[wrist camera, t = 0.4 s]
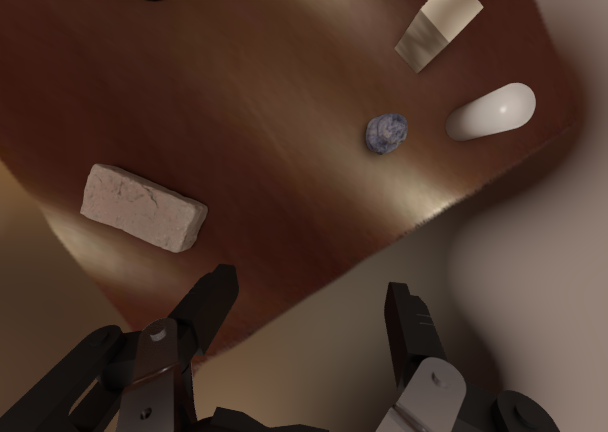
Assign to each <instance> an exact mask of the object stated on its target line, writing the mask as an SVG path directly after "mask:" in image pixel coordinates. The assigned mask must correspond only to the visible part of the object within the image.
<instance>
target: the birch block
mask: <svg viewBox="0 0 608 432" xmlns="http://www.w3.org/2000/svg"><path fill="white" fill-rule="evenodd" d="M482 8H483V6H482V5H481V4H480V2H479V1H478V0H429V1H428V2H427V3H426V4H425V5H424V6H423V7H422V8H421V9H420V11H419V12H418V14H417V15H416V17H415V18H414V20H413V21H412V23H411V24H410V26H409V27H408V29H407V30H406V32H405V33H404V35H403V36H402V38H401V39H400V41H399V42H398V44H397V46H396V47H395V50H396V51H397V52H398V53H399V55H400V56H401V57H402V58H403V59H404V60H405V61H406V62H407V63H408V65H409V66H410V67H411V68H412V69H413V70H414V71H415V72H416V73H417V74H418V73H419V72H420V71H421V70H422V69H423V68H424V67H425V66H426V65H427V64H428V63H429V62H430V61H431V60H432V59H433V58H434V57H435V56H436V55H437V54H438V53H439V52H440V51H441V50H442V49H443V48H444V47H446V46H447V45H448V44H449V43H450V42H451V41H452V40H453V38H454V37H455V36H456V35H457V34H458V33H459V32H460V31H461V30H462V29H463V28H464V27H465V26H466V25H467V24H468V23H469V22H470V21H471V20H472V19H473V18H474V17H475V16H476V15H477V14H478V13H479V11H480V10H481V9H482Z"/></svg>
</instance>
